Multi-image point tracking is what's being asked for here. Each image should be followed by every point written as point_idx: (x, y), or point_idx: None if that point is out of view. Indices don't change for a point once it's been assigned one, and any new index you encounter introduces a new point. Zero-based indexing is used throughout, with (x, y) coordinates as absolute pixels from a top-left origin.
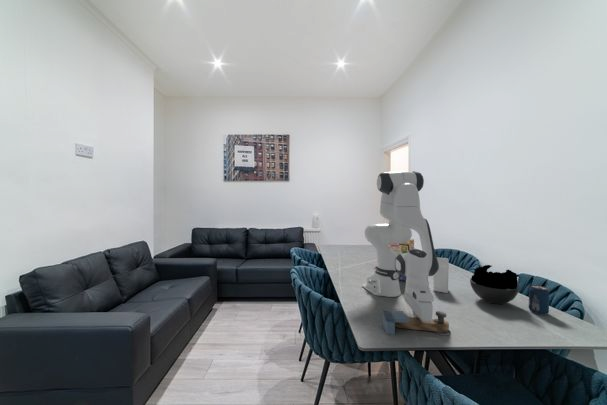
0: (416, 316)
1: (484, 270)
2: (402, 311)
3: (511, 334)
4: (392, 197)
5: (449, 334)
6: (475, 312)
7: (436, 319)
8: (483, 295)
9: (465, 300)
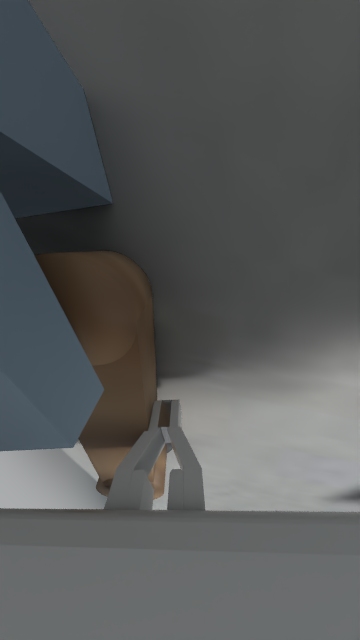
0: (130, 454)
1: None
2: (41, 442)
3: None
4: None
5: None
6: (270, 506)
7: (154, 486)
8: None
9: (345, 510)
